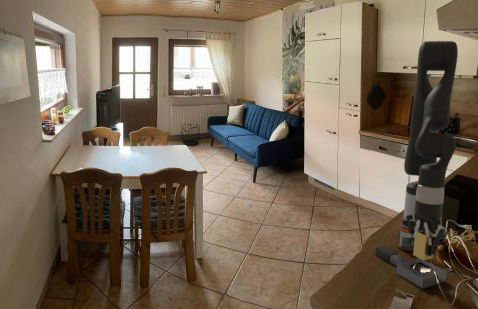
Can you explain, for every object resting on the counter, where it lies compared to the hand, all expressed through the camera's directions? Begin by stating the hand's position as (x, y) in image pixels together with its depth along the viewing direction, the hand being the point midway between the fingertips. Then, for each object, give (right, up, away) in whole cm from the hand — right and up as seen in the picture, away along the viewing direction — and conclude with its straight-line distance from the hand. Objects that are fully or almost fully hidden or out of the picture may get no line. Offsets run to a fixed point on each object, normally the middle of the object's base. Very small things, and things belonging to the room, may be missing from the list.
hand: (423, 251), depth 122 cm
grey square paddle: (-3, -7, +8) cm, 11 cm away
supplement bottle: (+4, -4, +22) cm, 23 cm away
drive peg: (0, -1, 0) cm, 1 cm away
